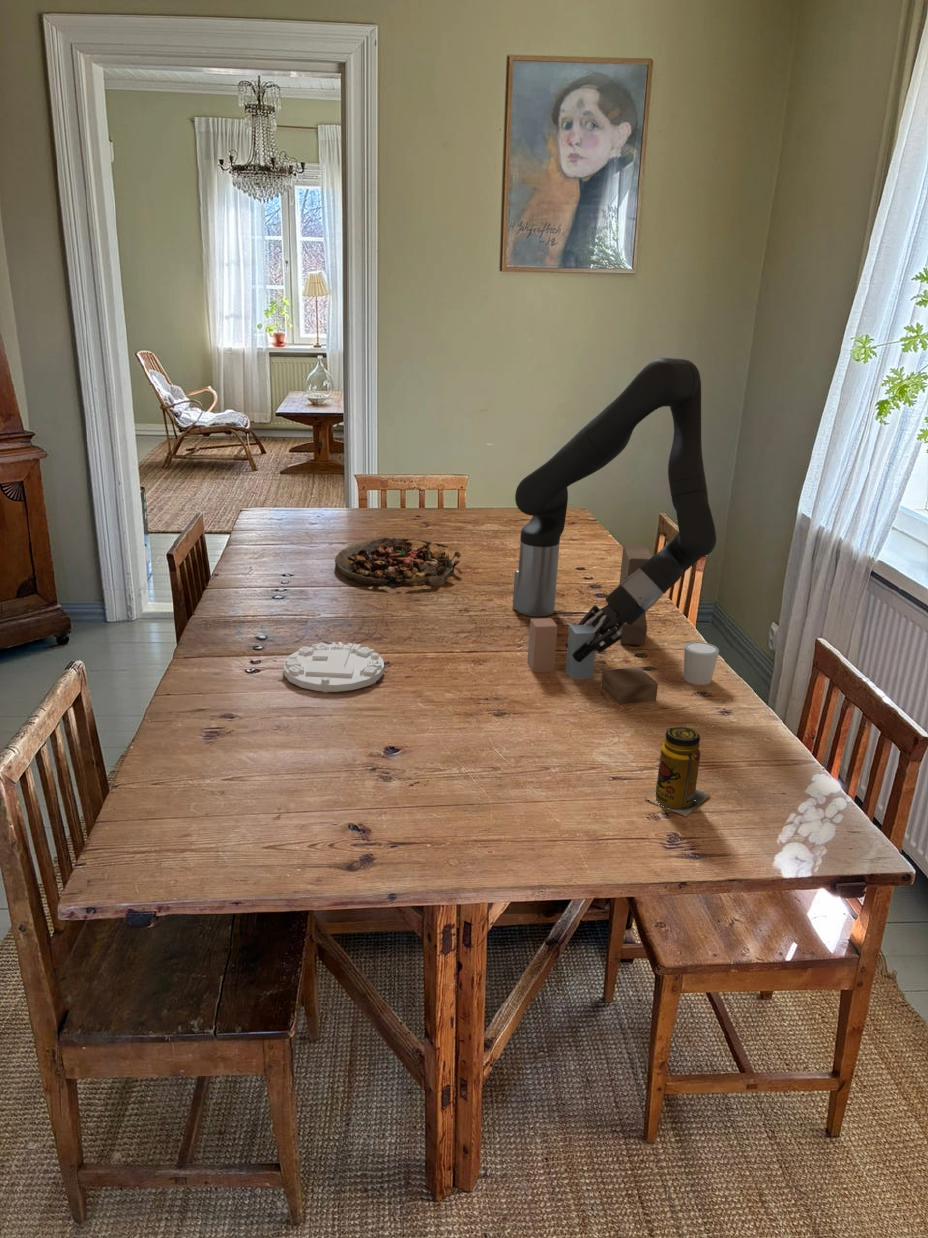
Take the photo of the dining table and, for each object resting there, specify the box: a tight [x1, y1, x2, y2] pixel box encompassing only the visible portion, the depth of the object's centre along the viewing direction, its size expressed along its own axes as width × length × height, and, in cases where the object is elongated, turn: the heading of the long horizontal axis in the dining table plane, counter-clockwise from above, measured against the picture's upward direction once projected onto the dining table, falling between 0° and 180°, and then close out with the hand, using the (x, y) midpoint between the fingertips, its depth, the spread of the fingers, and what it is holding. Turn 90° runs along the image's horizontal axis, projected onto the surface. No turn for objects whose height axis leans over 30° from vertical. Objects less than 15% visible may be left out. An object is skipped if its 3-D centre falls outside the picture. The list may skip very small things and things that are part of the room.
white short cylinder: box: [682, 641, 720, 686], centre depth 192 cm, size 7×7×7 cm
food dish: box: [334, 536, 462, 588], centre depth 251 cm, size 35×33×8 cm
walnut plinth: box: [600, 666, 659, 706], centre depth 185 cm, size 8×8×4 cm
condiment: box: [644, 725, 711, 818], centre depth 148 cm, size 7×8×12 cm
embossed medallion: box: [283, 641, 385, 694], centre depth 189 cm, size 20×20×3 cm
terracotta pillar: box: [527, 617, 558, 673], centre depth 194 cm, size 4×4×10 cm
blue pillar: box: [564, 624, 597, 680], centre depth 191 cm, size 4×4×10 cm
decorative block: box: [618, 544, 654, 646], centre depth 210 cm, size 11×6×20 cm, turn 177°
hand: (572, 653), depth 191 cm, fingers closed on blue pillar, 4 cm apart
